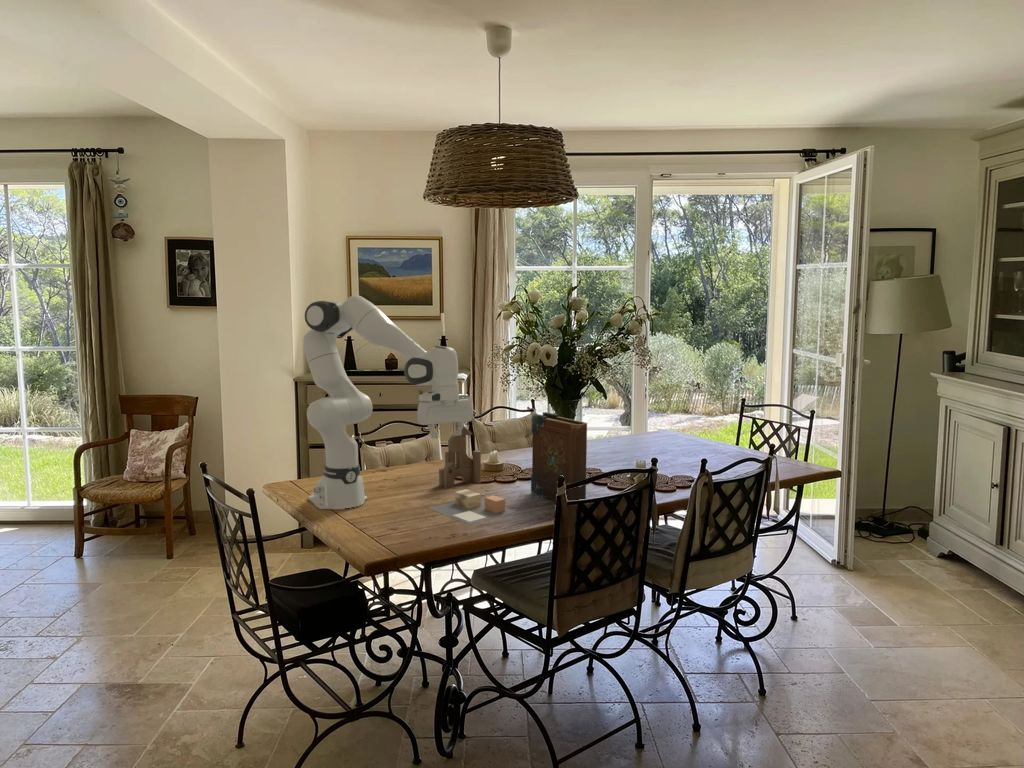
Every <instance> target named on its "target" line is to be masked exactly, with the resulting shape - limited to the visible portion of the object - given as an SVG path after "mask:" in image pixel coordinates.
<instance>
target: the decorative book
mask: <svg viewBox="0 0 1024 768" xmlns="http://www.w3.org/2000/svg"><path fill="white" fill-rule="evenodd" d="M530 426H531V427H530V428H531V432H530V433H531V434H532V438H531V439H532V445H531V446H532V449H531V450H532V452H531V454H532V457H531V458H532V459H531V463H532V465H531V467H532V468H531V472H532V473H531V475H530V494H531V495H535V496H538V497H540V496H541V497H540V498H543V497H544V498H548V499H551V500H554V501H556V500H555V499H556V494H557V478H558V477H559V476H560V475H563V476H564V479H565V483H566V484H567V483H573V482H577V481H581V480H584V479H586V480H587V450H588V449H587V447H588V446H587V444H588V443H587V442H588V441H587V439H588V422H586V421H585V422H584V421H580V420H576V419H572V418H566V417H562V416H559V414H556V413H552V412H548V411H545V412H542V414H539V413H532V414H531V425H530ZM586 494H587V484H586V485H583V486H581V487H576V488H572V489H567V490H566V495H567V499H568V500H579V499H587V498H586Z"/></svg>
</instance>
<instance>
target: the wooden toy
mask: <svg viewBox="0 0 1024 768" xmlns="http://www.w3.org/2000/svg"><path fill="white" fill-rule="evenodd" d="M457 428H458V425H457V422H455V430H457ZM472 435H473V432H472V431H470V430H469V429H468V428H467V427H466V426H465V425H464V426H463V429H462V430H461V436H455V434H452V435H451V436H450V437H449V438H448V440H447V442H448V443H447V450H448V451H444V467H443V468H439V469H438V475H439V476H438V482H439V486H441V487H442V488H445V489H446V490H447V489H453V488H455V478H457V477H461V480H462V482H463V483H465V484H469V483H473V484H476V483H478V484H482V469H481V468H482V465H481V463H482V451H481V450H477V449H475V450H473V451H472V457H469V456H468V453H467V436H472Z"/></svg>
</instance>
